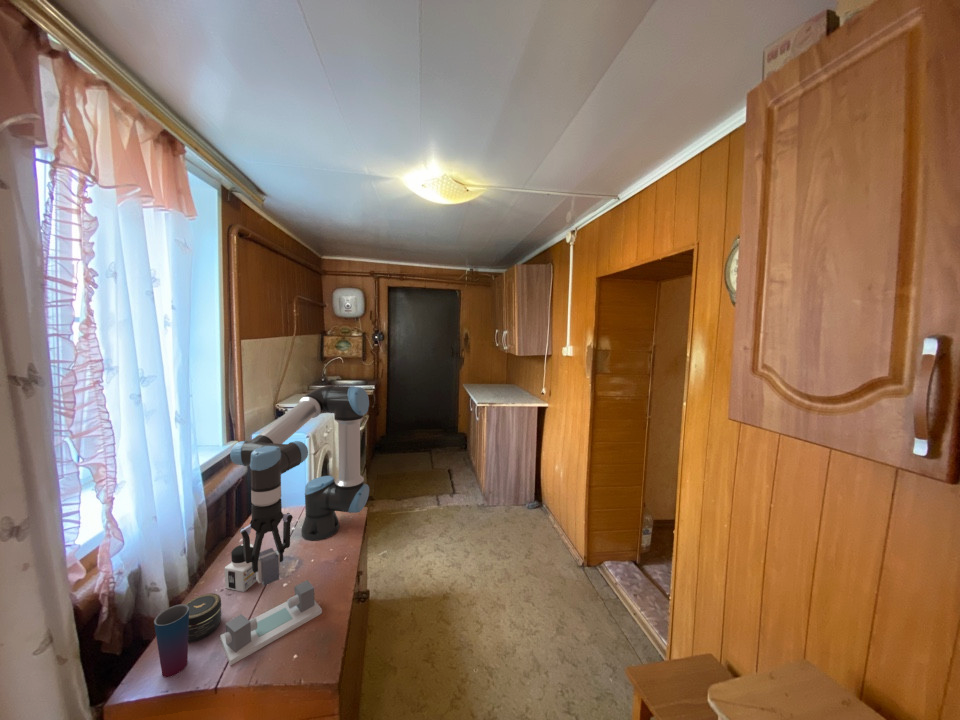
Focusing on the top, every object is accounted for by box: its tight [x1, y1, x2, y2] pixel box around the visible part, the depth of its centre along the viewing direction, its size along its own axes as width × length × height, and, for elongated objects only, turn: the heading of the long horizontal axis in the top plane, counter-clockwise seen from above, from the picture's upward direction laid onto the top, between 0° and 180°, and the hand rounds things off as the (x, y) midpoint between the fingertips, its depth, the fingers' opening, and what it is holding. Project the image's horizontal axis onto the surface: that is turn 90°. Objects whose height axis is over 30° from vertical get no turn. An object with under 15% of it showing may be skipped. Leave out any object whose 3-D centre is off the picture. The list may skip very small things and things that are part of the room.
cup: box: [153, 603, 189, 678], centre depth 91 cm, size 7×7×15 cm
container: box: [224, 543, 258, 593], centre depth 122 cm, size 8×8×13 cm
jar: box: [185, 592, 222, 643], centre depth 103 cm, size 10×10×8 cm
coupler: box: [259, 547, 280, 587], centre depth 104 cm, size 6×4×7 cm
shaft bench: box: [219, 579, 323, 666], centre depth 105 cm, size 24×11×8 cm, turn 137°
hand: (268, 576), depth 105 cm, fingers closed on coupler, 4 cm apart
